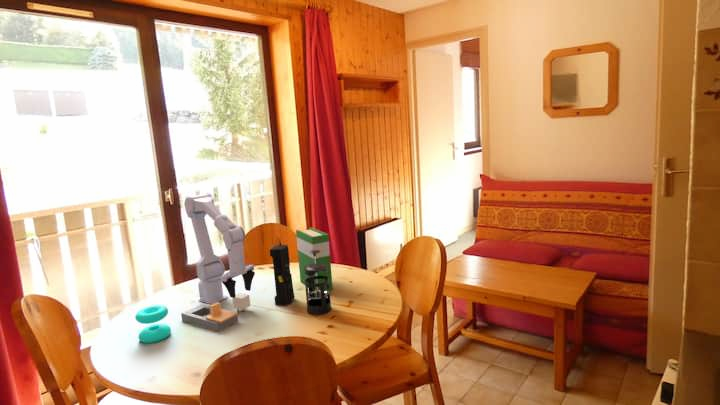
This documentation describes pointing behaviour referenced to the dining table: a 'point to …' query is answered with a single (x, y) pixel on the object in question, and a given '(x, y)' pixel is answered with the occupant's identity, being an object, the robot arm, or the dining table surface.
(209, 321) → the grey recessed box
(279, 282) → the portable radio
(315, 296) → the french press
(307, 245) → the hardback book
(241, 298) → the beige rectangular block
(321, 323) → the dining table surface
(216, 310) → the shutter
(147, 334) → the cyan discs
